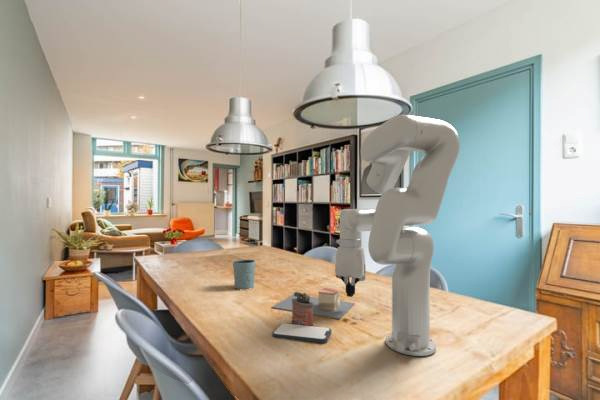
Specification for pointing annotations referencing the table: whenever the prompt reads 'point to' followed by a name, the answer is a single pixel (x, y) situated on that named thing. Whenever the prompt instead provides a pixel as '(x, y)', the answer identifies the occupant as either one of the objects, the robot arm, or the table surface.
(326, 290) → the maple cube
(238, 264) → the teal cup
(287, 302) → the rubber mat
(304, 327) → the phone case
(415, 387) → the table surface
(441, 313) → the table surface
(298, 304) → the lighter
